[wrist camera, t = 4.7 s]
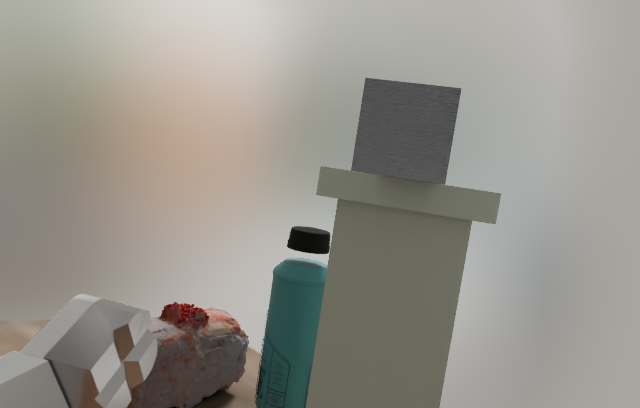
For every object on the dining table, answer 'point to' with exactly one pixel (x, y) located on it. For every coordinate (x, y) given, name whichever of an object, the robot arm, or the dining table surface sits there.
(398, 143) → the graphite bar
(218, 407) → the dining table surface
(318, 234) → the beverage bottle
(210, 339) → the food item
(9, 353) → the robot arm
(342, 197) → the sage stand
